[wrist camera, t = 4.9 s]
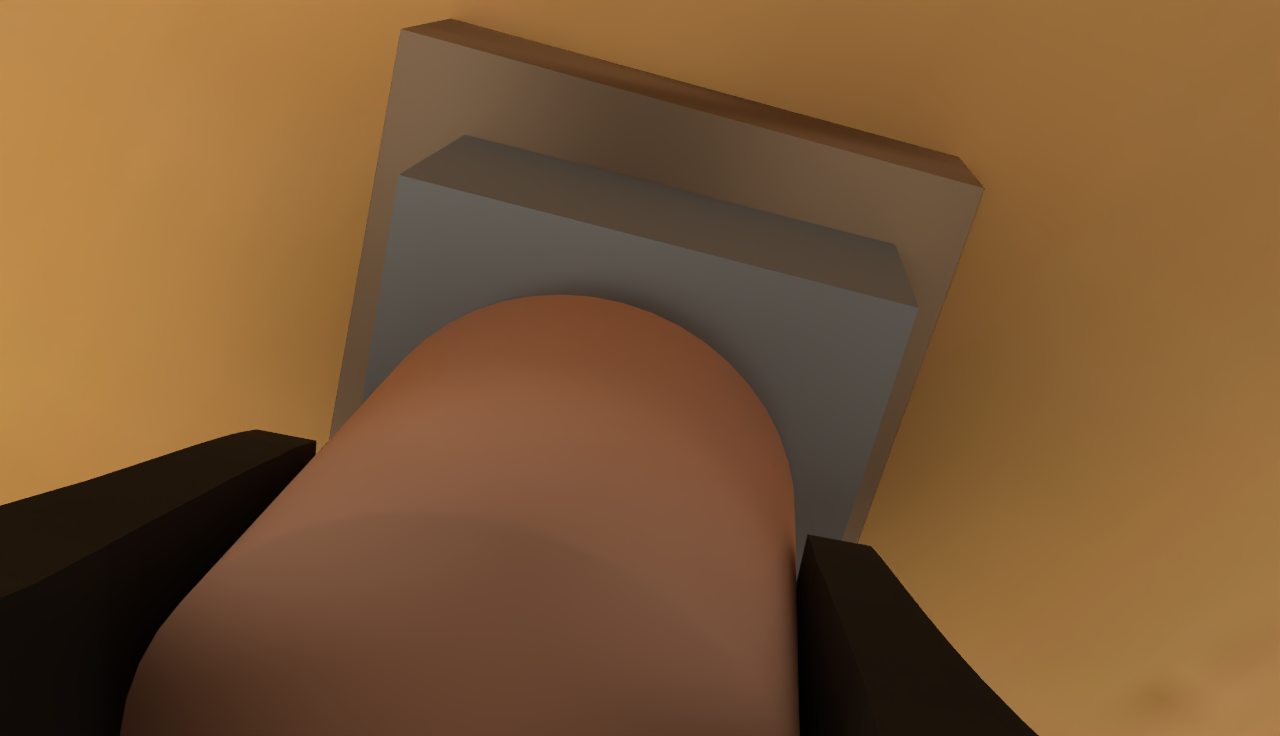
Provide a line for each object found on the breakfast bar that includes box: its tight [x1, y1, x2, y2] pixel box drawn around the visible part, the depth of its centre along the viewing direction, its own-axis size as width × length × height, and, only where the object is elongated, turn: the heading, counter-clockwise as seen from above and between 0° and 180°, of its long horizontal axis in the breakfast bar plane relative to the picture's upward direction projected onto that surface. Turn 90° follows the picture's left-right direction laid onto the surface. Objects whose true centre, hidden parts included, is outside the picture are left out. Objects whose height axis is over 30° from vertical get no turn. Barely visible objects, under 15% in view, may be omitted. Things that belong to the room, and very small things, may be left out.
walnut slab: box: [329, 19, 985, 543], centre depth 19 cm, size 8×8×3 cm
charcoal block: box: [361, 135, 919, 582], centre depth 16 cm, size 6×6×3 cm
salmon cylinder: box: [120, 294, 800, 736], centre depth 11 cm, size 5×5×5 cm
